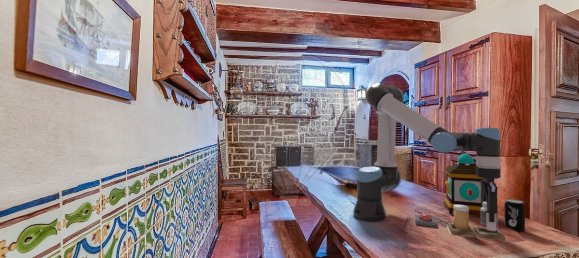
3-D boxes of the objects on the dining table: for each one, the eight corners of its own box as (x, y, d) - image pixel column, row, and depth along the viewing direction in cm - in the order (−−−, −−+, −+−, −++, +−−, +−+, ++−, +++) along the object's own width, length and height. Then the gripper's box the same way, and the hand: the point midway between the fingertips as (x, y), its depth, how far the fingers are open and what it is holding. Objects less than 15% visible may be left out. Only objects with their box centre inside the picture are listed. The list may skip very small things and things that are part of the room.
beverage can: (528, 232, 108) (528, 203, 108) (510, 231, 109) (510, 202, 109) (518, 227, 114) (518, 199, 115) (501, 226, 116) (500, 198, 116)
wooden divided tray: (449, 237, 103) (449, 230, 103) (446, 228, 112) (446, 222, 113) (507, 245, 96) (507, 237, 96) (499, 235, 105) (499, 228, 105)
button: (420, 224, 115) (420, 215, 115) (420, 221, 118) (420, 212, 118) (430, 226, 113) (430, 216, 113) (430, 223, 117) (430, 214, 117)
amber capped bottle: (454, 232, 105) (454, 207, 105) (452, 228, 110) (452, 203, 110) (470, 234, 103) (470, 208, 103) (467, 230, 107) (467, 205, 108)
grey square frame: (415, 227, 114) (415, 220, 114) (415, 221, 121) (415, 215, 121) (436, 230, 110) (436, 223, 111) (435, 224, 118) (435, 217, 118)
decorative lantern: (446, 215, 130) (446, 154, 131) (440, 205, 149) (440, 151, 149) (496, 220, 123) (495, 155, 123) (483, 209, 141) (483, 152, 142)
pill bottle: (497, 231, 99) (497, 205, 99) (480, 228, 102) (479, 203, 102) (498, 227, 103) (497, 202, 103) (481, 224, 106) (480, 200, 106)
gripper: (508, 170, 93) (509, 237, 92) (493, 165, 110) (493, 221, 109) (482, 169, 96) (483, 234, 95) (471, 164, 113) (472, 219, 112)
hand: (488, 227), depth 102 cm, fingers closed on pill bottle, 5 cm apart
